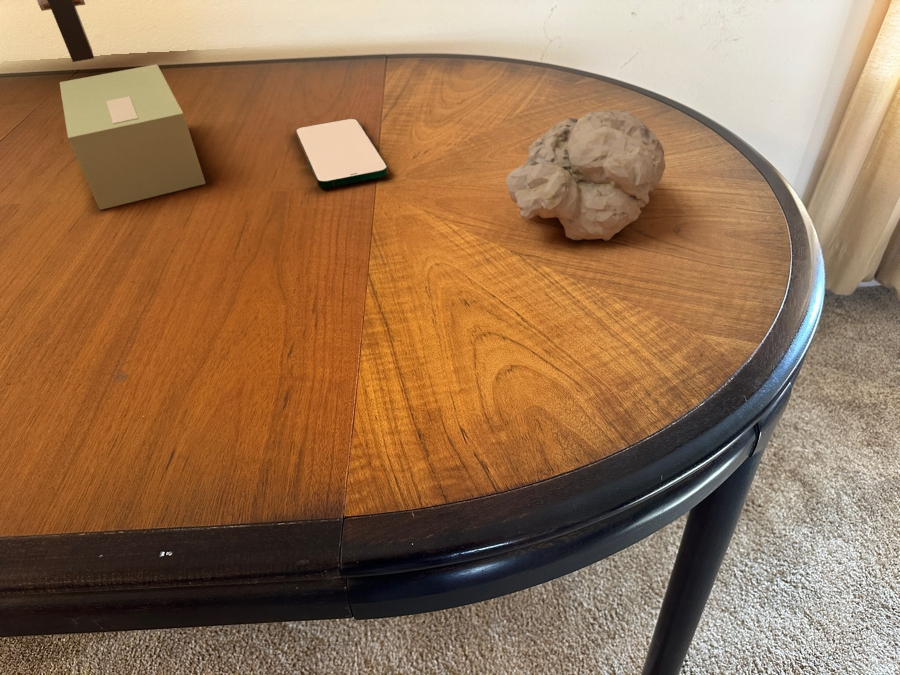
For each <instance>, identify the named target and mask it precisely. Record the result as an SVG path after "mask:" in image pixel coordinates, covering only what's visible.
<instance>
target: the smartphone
mask: <svg viewBox="0 0 900 675" xmlns="http://www.w3.org/2000/svg"><path fill="white" fill-rule="evenodd" d="M295 136H296V139H297V141H298V143H299V146H300V148H301V151H302V154H303V155H304V157H305V160H306V162H307V164H308V166H309V170H310V171H311V173H312V176H313V178H314V180H315V183H316V185H317V186H318V187H319V188H322V189H328V188H334V187H338V186H343V185H349V184H354V183H359V182H365V181H369V180H374V179H380V178H384V177H386V176H387V175H388V174H389V168H388V164H387V163H386V161H385V160H384V159H383V157H382V155H381V154H380V152H379V151H378V149H377V148H376V146H375V145H374V143H373V141H372V140H371V139H370V137H369V135H368V134H367V132H366V131H365V130H364V128H363V126H362V125H361V123H360V122H359V120H358V119H356V118H346V119H345V118H344V119H339V120H335V121H330V122H329V121H328V122H322V123H318V124H312V125H311V124H310V125H306V126H301V127H300V126H299V127H297V128H296V129H295Z"/></svg>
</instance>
